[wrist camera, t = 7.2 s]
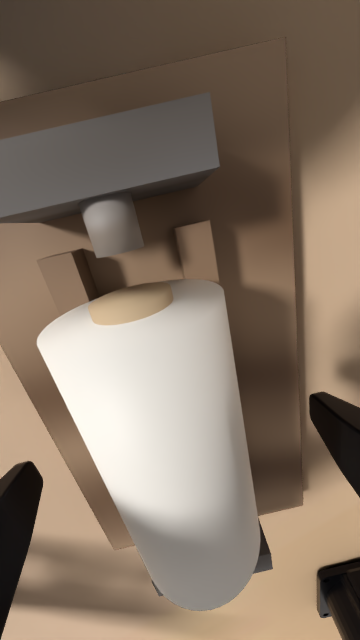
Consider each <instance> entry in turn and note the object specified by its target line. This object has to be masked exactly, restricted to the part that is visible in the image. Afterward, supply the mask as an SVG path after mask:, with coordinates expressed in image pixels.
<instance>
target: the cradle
mask: <svg viewBox="0 0 360 640" xmlns="http://www.w3.org/2000/svg"><path fill="white" fill-rule="evenodd" d="M178 279H200V280H207V281H211V282H214V283H217V284H219V285H220V286H221V287H222V288H223V290H224V296H225V302H226V309H227V315H228V322H229V329H230V335H231V342H232V349H233V355H234V362H235V368H236V375H237V382H238V388H239V395H240V402H241V408H242V415H243V421H244V428H245V435H246V441H247V448H248V454H249V461H250V468H251V474H252V481H253V488H254V494H255V501H256V507H257V514H258V516H260V515H264V514H269V513H273V512H277V511H281V510H285V509H289V508H294V507H298V506H302V505H303V485H302V458H301V431H300V405H299V378H298V352H297V325H296V298H295V272H294V245H293V219H292V192H291V165H290V139H289V112H288V86H287V59H286V37H283V38H278V39H274V40H270V41H265V42H261V43H256V44H252V45H248V46H243V47H239V48H235V49H230V50H226V51H221V52H217V53H213V54H208V55H204V56H199V57H195V58H191V59H186V60H182V61H178V62H173V63H169V64H164V65H160V66H156V67H151V68H147V69H143V70H138V71H134V72H129V73H125V74H121V75H116V76H112V77H107V78H103V79H99V80H94V81H90V82H86V83H81V84H77V85H72V86H68V87H64V88H59V89H55V90H51V91H46V92H42V93H37V94H33V95H29V96H24V97H20V98H15V99H11V100H7V101H2V102H0V345H1V347H2V349H3V351H4V352H5V354H6V356H7V358H8V360H9V361H10V363H11V365H12V367H13V369H14V370H15V372H16V374H17V376H18V378H19V379H20V381H21V383H22V385H23V387H24V388H25V390H26V392H27V394H28V396H29V397H30V399H31V401H32V403H33V405H34V407H35V408H36V410H37V412H38V414H39V416H40V417H41V419H42V421H43V423H44V425H45V426H46V428H47V430H48V432H49V434H50V435H51V437H52V439H53V441H54V443H55V444H56V446H57V448H58V450H59V452H60V453H61V455H62V457H63V459H64V461H65V462H66V464H67V466H68V468H69V470H70V471H71V473H72V475H73V477H74V479H75V480H76V482H77V484H78V486H79V488H80V489H81V491H82V493H83V495H84V497H85V498H86V500H87V502H88V504H89V506H90V507H91V509H92V511H93V513H94V515H95V516H96V518H97V520H98V522H99V524H100V525H101V527H102V529H103V531H104V533H105V534H106V536H107V538H108V540H109V542H110V543H111V545H112V547H113V549H114V550H118V549H122V548H126V547H131V546H135V544H134V542H133V540H132V538H131V536H130V534H129V532H128V530H127V528H126V526H125V524H124V522H123V520H122V518H121V516H120V514H119V511H118V509H117V507H116V505H115V503H114V501H113V499H112V497H111V495H110V493H109V491H108V489H107V487H106V485H105V483H104V481H103V479H102V477H101V475H100V473H99V471H98V469H97V467H96V465H95V463H94V461H93V459H92V456H91V454H90V452H89V450H88V448H87V446H86V444H85V442H84V440H83V438H82V436H81V434H80V432H79V430H78V428H77V426H76V424H75V422H74V420H73V418H72V416H71V414H70V412H69V410H68V408H67V406H66V403H65V401H64V399H63V397H62V395H61V393H60V391H59V389H58V387H57V385H56V383H55V381H54V379H53V377H52V375H51V373H50V371H49V369H48V367H47V365H46V363H45V361H44V359H43V357H42V355H41V353H40V350H39V348H38V346H37V338H38V336H39V334H40V333H41V332H42V331H43V329H44V328H45V327H46V326H48V325H49V324H50V323H51V322H53V321H54V320H55V319H57V318H58V317H60V316H62V315H63V314H65V313H67V312H69V311H70V310H72V309H74V308H76V307H78V306H80V305H83V304H85V303H87V302H90V301H92V300H94V299H97V298H100V297H102V296H104V295H106V294H108V293H111V292H113V291H116V290H119V289H122V288H126V287H130V286H134V285H138V284H144V283H152V282H160V281H168V280H178ZM258 521H259V518H258ZM259 527H260V551H259V556H258V561H257V564H256V567H255V570H254V572H253V574H254V573H258V572H262V571H266V570H270V569H273V567H272V560H271V553H270V550H269V547H268V544H267V541H266V539H265V536H264V533H263V530H262V527H261V524H260V521H259ZM152 583H153V585H154V587H155V589H156V591H157V593H158V595H159V596H162V595H163V594H162V593H161V592H160V591H159V590H158V588H157V587H156V585H155V584H154V582H153V580H152Z"/></svg>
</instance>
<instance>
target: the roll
mask: <svg viewBox="0 0 360 640" xmlns="http://www.w3.org/2000/svg"><path fill="white" fill-rule="evenodd" d="M37 346H38V348H39V350H40V353H41V355H42V357H43V359H44V361H45V363H46V365H47V367H48V369H49V371H50V373H51V375H52V377H53V379H54V381H55V383H56V385H57V387H58V389H59V391H60V393H61V395H62V397H63V399H64V401H65V403H66V406H67V408H68V410H69V412H70V414H71V416H72V418H73V420H74V422H75V424H76V426H77V428H78V430H79V432H80V434H81V436H82V438H83V440H84V442H85V444H86V446H87V448H88V450H89V452H90V454H91V456H92V459H93V461H94V463H95V465H96V467H97V469H98V471H99V473H100V475H101V477H102V479H103V481H104V483H105V485H106V487H107V489H108V491H109V493H110V495H111V497H112V499H113V501H114V503H115V505H116V507H117V509H118V511H119V514H120V516H121V518H122V520H123V522H124V524H125V526H126V528H127V530H128V532H129V534H130V536H131V538H132V540H133V542H134V544H135V546H136V548H137V550H138V552H139V554H140V556H141V558H142V560H143V562H144V564H145V567H146V569H147V571H148V573H149V575H150V577H151V578H152V580H153V582H154V584H155V585H156V587H157V588H158V590H159V591H160V592H161V593H162V594H163V595H164V596H165V597H166V598H167V599H168V600H170V601H171V602H173V603H174V604H176V605H178V606H180V607H182V608H185V609H189V610H194V611H205V610H212V609H215V608H218V607H221V606H223V605H224V604H226V603H228V602H230V601H231V600H232V599H234V598H235V597H236V596H237V595H238V594H239V593H240V592H241V591H242V590H243V589H244V587H245V586H246V584H247V583H248V581H249V580H250V578H251V576H252V574H253V572H254V570H255V567H256V564H257V561H258V556H259V551H260V527H259V521H258V514H257V507H256V501H255V494H254V488H253V481H252V474H251V468H250V461H249V454H248V448H247V441H246V435H245V428H244V421H243V415H242V408H241V402H240V395H239V388H238V382H237V375H236V368H235V362H234V355H233V349H232V342H231V335H230V329H229V322H228V315H227V309H226V302H225V296H224V290H223V288H222V287H221V286H220V285H219V284H217V283H214V282H211V281H207V280H200V279H178V280H168V281H160V282H152V283H144V284H138V285H134V286H130V287H126V288H122V289H119V290H116V291H113V292H111V293H108V294H106V295H104V296H102V297H100V298H97V299H94V300H92V301H90V302H87V303H85V304H83V305H80V306H78V307H76V308H74V309H72V310H70V311H69V312H67V313H65V314H63V315H62V316H60V317H58V318H57V319H55V320H54V321H53V322H51V323H50V324H49V325H48V326H46V327H45V328H44V329H43V331H42V332H41V333H40V334H39V336H38V338H37Z"/></svg>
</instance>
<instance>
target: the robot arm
mask: <svg viewBox="0 0 360 640" xmlns="http://www.w3.org/2000/svg"><path fill="white" fill-rule="evenodd" d="M309 406H310V418H311V420H312V422H313V424H314V426H315V427H316V429H317V431H318V433H319V434H320V436H321V438H322V440H323V441H324V443H325V445H326V446H327V448H328V450H329V452H330V453H331V455H332V457H333V459H334V460H335V462H336V464H337V465H338V467H339V469H340V470H341V472H342V473H343V475H344V476H345V478H346V479H347V480H348V482H349V483H350V485H351V486H352V487H353V489H354V490H355V492H356V493H357V494H358V496H359V497H360V408H359V407H357V406H354V405H352V404H350V403H348V402H346V401H343V400H341V399H339V398H337V397H335V396H332V395H330V394H328V393H326V392H318V393H314V394H311V395H310V397H309ZM42 488H43V479H42V476H41V475H40V473H39V471H38V470H37V468H36V467H35V465H34V463H33V462H31V461H27V462H22V463H19V464H16V465H15V466H14V467H13V468H12V469H11V470H10V471H8V472H7V473H6V474H5V475H4V476H3V477H2V478H1V479H0V640H1V636H2V633H3V630H4V627H5V623H6V620H7V617H8V614H9V610H10V607H11V604H12V601H13V597H14V594H15V591H16V588H17V585H18V581H19V578H20V575H21V572H22V568H23V565H24V562H25V559H26V555H27V552H28V548H29V545H30V541H31V537H32V533H33V529H34V524H35V520H36V515H37V510H38V506H39V501H40V497H41V492H42ZM317 611H318V613H319V615H320V617H321V618H326V617H330V616H332V618H333V620H334V622H335V624H336V627H337V629H338V631H339V633H340V636H341V638H342V640H360V561H359V562H355V563H351V564H346V565H342V566H338V567H334V568H330V569H326V570H322V571H320V572H318V573H317Z"/></svg>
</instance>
